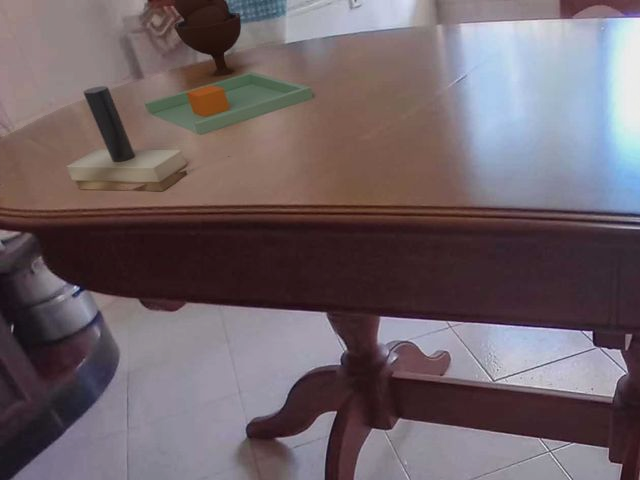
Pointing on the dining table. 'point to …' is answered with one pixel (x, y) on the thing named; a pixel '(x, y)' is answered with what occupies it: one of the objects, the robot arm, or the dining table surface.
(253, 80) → the tray
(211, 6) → the ice cream bowl
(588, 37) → the dining table surface
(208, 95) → the eraser
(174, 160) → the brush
